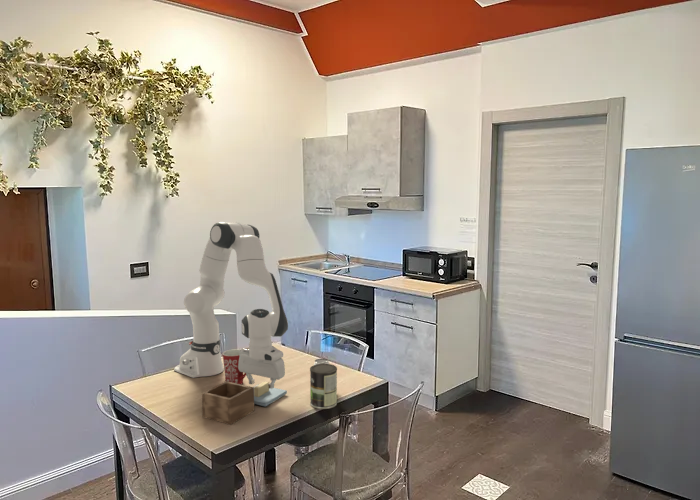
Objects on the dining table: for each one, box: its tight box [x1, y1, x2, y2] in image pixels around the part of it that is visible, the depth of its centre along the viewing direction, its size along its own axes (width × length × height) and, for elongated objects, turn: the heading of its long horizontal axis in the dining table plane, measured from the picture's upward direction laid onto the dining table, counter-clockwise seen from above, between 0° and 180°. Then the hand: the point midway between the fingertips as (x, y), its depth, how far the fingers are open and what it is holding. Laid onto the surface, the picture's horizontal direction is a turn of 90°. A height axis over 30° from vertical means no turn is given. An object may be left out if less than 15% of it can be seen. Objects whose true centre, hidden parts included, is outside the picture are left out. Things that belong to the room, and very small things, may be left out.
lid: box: [253, 381, 288, 408], centre depth 206 cm, size 14×14×6 cm
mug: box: [221, 348, 247, 385], centre depth 220 cm, size 13×9×14 cm
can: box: [313, 358, 330, 365], centre depth 215 cm, size 6×6×12 cm
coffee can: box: [309, 363, 338, 410], centre depth 200 cm, size 10×10×14 cm
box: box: [201, 381, 255, 426], centre depth 191 cm, size 13×13×9 cm
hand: (261, 386), depth 205 cm, fingers open, 8 cm apart
